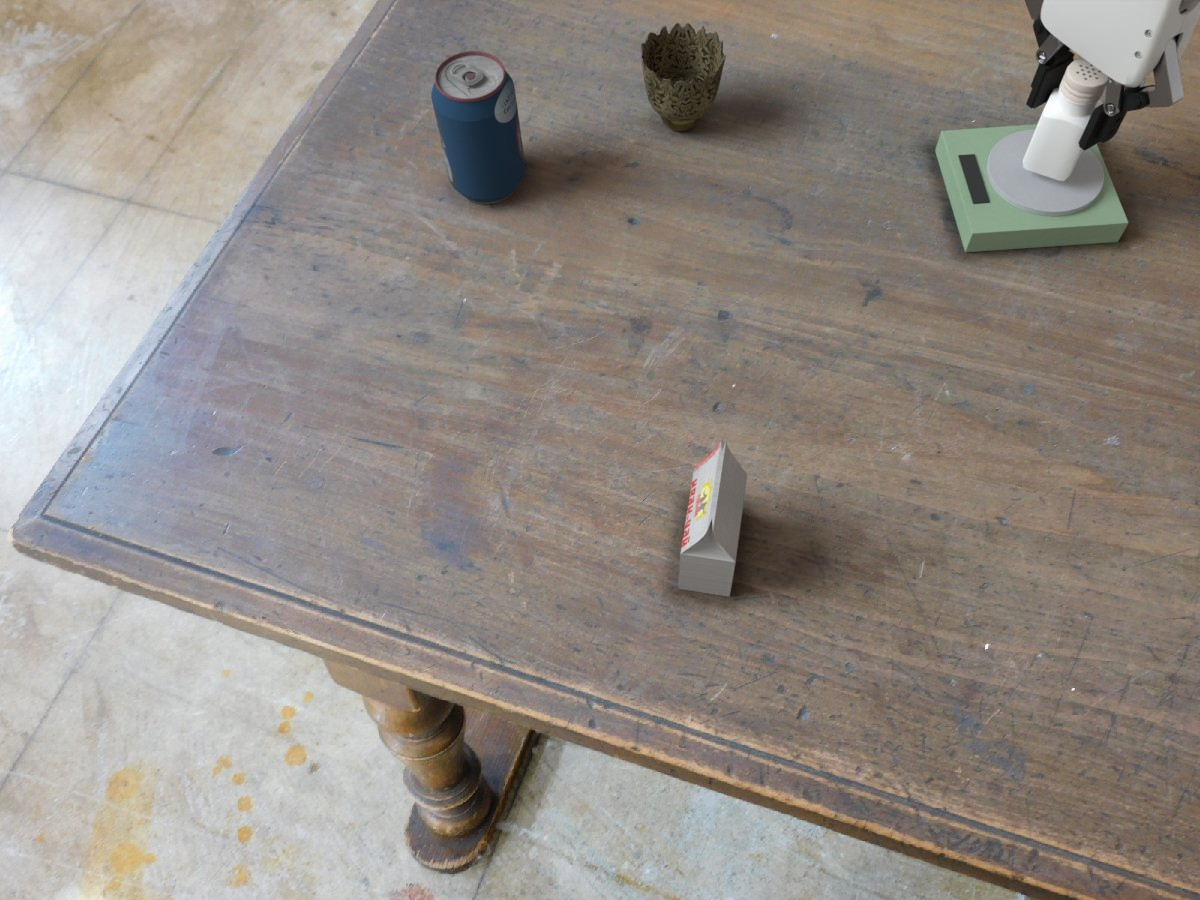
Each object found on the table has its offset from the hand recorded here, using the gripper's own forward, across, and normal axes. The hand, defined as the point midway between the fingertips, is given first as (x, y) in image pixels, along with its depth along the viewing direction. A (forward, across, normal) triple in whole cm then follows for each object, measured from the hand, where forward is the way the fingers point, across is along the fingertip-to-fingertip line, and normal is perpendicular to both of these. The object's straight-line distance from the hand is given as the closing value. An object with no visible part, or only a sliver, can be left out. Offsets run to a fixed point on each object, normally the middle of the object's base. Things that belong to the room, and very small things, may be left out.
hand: (1068, 118), depth 87 cm
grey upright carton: (+9, -12, +44) cm, 46 cm away
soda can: (+9, +29, +39) cm, 49 cm away
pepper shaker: (+5, 0, 0) cm, 5 cm away
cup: (+9, +25, +20) cm, 34 cm away
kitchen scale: (+9, 0, +1) cm, 9 cm away
